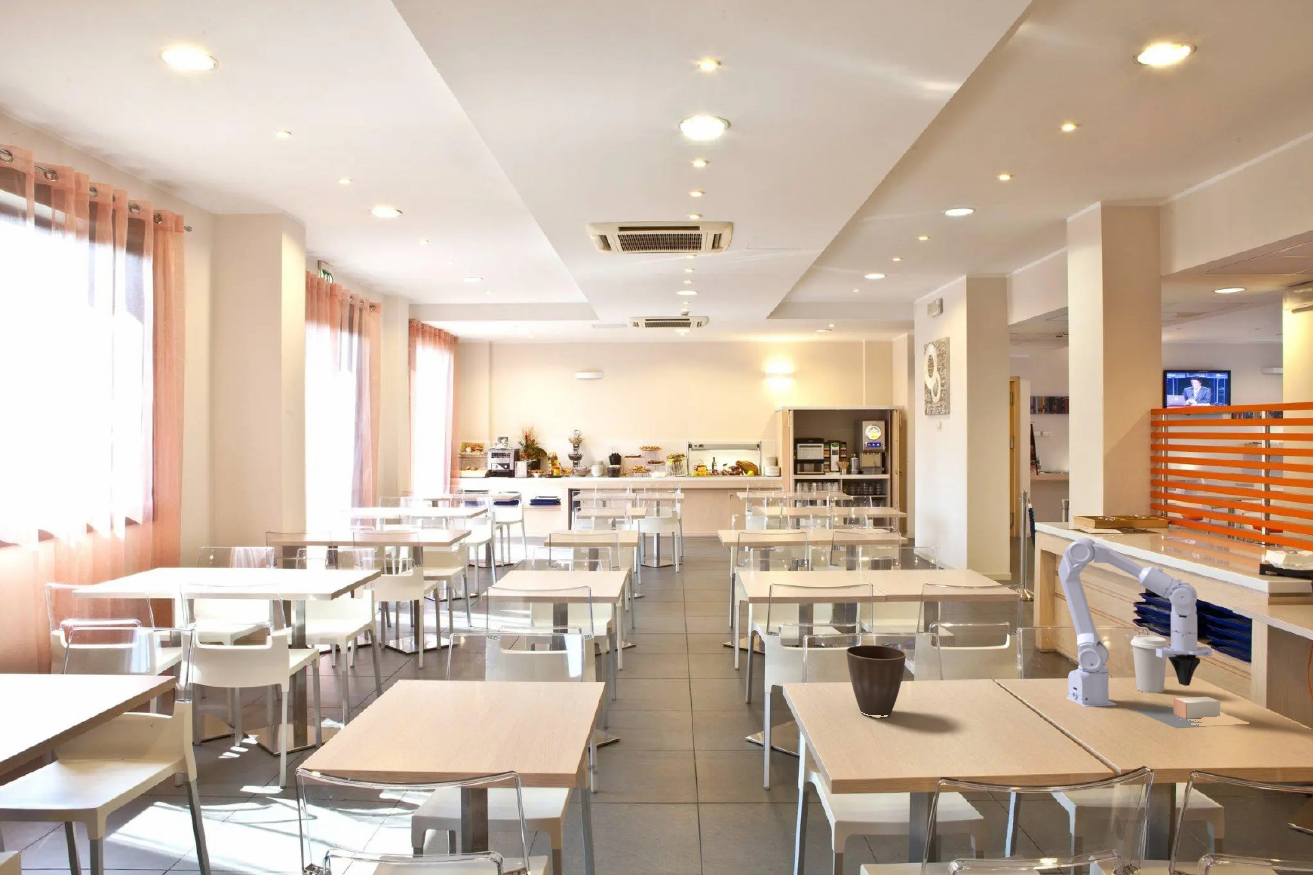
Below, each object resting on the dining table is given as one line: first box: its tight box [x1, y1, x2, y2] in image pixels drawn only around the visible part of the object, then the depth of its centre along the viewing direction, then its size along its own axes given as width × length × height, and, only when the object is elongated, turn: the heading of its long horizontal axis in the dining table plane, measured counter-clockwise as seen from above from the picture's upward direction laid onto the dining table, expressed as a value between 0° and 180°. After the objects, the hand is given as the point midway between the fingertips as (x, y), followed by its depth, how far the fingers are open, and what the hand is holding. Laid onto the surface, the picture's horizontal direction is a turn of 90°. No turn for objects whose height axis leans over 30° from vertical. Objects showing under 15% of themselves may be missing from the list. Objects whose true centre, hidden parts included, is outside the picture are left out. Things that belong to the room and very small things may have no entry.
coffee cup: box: [1130, 634, 1170, 694], centre depth 235 cm, size 10×10×15 cm
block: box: [1172, 696, 1221, 719], centre depth 211 cm, size 4×4×10 cm
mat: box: [1128, 705, 1206, 729], centre depth 211 cm, size 22×16×1 cm
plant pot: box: [845, 644, 907, 716], centre depth 212 cm, size 15×15×16 cm
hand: (1184, 684), depth 210 cm, fingers closed
